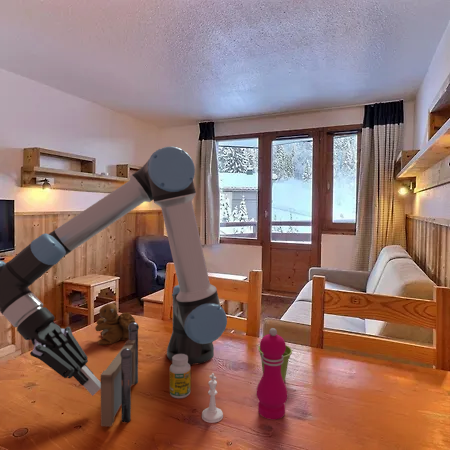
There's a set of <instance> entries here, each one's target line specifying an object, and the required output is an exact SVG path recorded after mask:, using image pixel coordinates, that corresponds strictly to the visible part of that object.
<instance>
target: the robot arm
mask: <svg viewBox="0 0 450 450" xmlns="http://www.w3.org/2000/svg"><path fill="white" fill-rule="evenodd" d="M195 168H196V166H195V163H194V160H193V159H192V157H191V156H190V154H189V153H188V152H187V151H185V150H184V149H182V148H180V147H177V146H165V147H161V148H158V149H157V150H155V151H154V152H153V153H152V154H151V155H150V157H149V159H148V160H147V161H146V163H144V164H143V166H142V167H140V168H139V169H138V170H137V171H135V172H134V173H132V174H131V175H130V178H129V180H128V181H127V182H125V183H124V184H122V185H121V186H119V187H117V188H116V189H115V190H113V191H112V192H110V193H109V194H108V193H107V195H106V196H104V197H103V198H101V199H99V200H98V201H96V202H95V203H93V204H91V206H89V207H87V208H86V209H84V210H83V211H81V212H80V213H78V214H77V215H76V216H74V217H72V218H71V219H69V220H68V221H66V222H64V223H63V224H61V225H60V226H58V227H57V228H55V229H54V230H53V231H51V232H49V233H43V234H40V235H39V236H38V237H36V238H34V239H33V240H32V241H31V242H30V243H28V245H26V247H24V248H23V249H22V250H21V251H19V253H17V254H16V255H15V256H14V257H12V258H11V259H10V260H9V261H8V262H5V261H2V260H0V313H1V315H2V316H3V317H5V319H6V320H7V321H8V322H9V324H11V325H12V326H13V327H14V328H16V331H17V332H18V334H19V335H20V336H21V337H22V338H23V339H24V340H25V341H29V340H30V341H31V343H32V345H33V349H32V350H30V353H29V355H30V356H31V357H34V358H36V359H38V360H40V361H41V362H43V363H44V364H46V365H47V366H48V367H49V368H50V369H51V370H53V371H54V372H55V373H57V374H58V375H60V376H61V377H62V378H63V379H66V378H68V379H72V378H74V379H75V380H76V381H77V382H78V384H80V386H83V387H84V388H85V389H86V390H87V392H88V393H89V394H90V395H91V396H94V395H95V394H97V392H98V391H101V380H99V379H98V377H97V376H95V374H94V372H93V371H92V369H90V368H89V367H88V366H87V364H88V362H89V360H88V359H89V357H88V355H87V354H86V353H85V351H84V349H83V348H82V346H81V345H80V344H79V342H78V340H77V339H76V337H75V336H74V335H73V333H72V329H71V327H70V326H66V327H65V328H61V327H60V325H58V324H57V323H55V322H54V320H55V318H56V317H55V315H54V314H53V313H52V312H51V311H50V310H49V309H48V308H47V307H44V303H43V302H42V301H41V300H40V299H39V298H38V297H37V296H36V294H34V293H33V292H32V290H30V288H29V287H30V286H32V284H34V283H35V282H36V281H37V280H38V279H39V278H41V277H42V276H43V275H44V274H45V273H47V272H48V271H49V270H51V268H53V266H56V265H57V264H58V263H59V262H60V261H61V260H62V259H63V258H64V257H66V256H67V255H68V254H69V253H71V252H73V251H74V250H76V249H77V248H78V247H80V246H81V245H83V244H84V243H86V242H87V241H89V240H90V239H92V238H93V237H95V236H96V235H98V234H99V233H100V232H102V231H103V230H105V229H106V228H107V227H109V226H111V225H112V224H114V223H115V222H117V221H119V220H120V219H121V218H123V217H124V216H125V215H128V213H130V212H131V211H133V210H134V209H136V208H138V207H139V206H140V205H142V204H144V203H145V202H147V203H150V202H154V204H156V205H157V206H159V207H160V209H161V213H162V216H163V221H164V226H165V230H166V235H167V239H168V243H169V248H170V252H171V257H172V261H173V266H174V270H175V275H176V278H177V282H178V283H177V285H175V286H173V290H172V294H171V296H172V333H171V336H170V339H169V342H168V344H167V348H166V356H167V359H168V360H169V361H171V362H172V357H173V356H174V355H176V354H185V355H187V356H188V363H189V364H190V366H191V365H198V364H203V363H206V362H208V361H209V360H211V359H212V358H213V357H214V355H215V352H214V349H215V348H214V344H213V342H215V341H216V340H218V339H220V337H221V336H222V335H223V333H224V332H225V331H226V328H227V325H228V316H227V314H226V312H225V309H224V308H223V307H222V306H221V304H220V299H219V294H218V290H217V287H216V286H215V285H213V284H211V283H210V279H209V274H208V269H207V265H206V260H205V256H204V251H203V247H202V241H201V237H200V232H199V228H198V224H197V223H198V222H197V218H196V214H195V209H194V204H193V200H194V199H195V197H196V195H197V192H196V187H195V183H194V179H195V175H196V174H195V172H196V169H195Z"/></svg>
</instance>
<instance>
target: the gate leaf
mask: <svg viewBox="0 0 450 450" xmlns="http://www.w3.org/2000/svg"><path fill="white" fill-rule="evenodd" d="M125 348H129V349H130V350H131V352H132V354H131V387H132V386H134V385H135V384H134V383H135V348H136V342H135V340H129V339H127V340H126V341H125V342H124V345H123V346H122V348H121V349H120V350H119V352H117V354H116V356H115V357H114V359H113V360H112V361H111V362H110V363H109V365H108V366H107V368H106V369H105V370H103V371H102V372H101V374H100V382H101V389H100V426H101V427H112V426H113V424H114V422H115V416H116V415H117V413H118V411H119V409H120V408H121V356H120V353H121V351H122V350H123V349H125Z"/></svg>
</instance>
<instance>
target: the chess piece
mask: <svg viewBox="0 0 450 450" xmlns="http://www.w3.org/2000/svg"><path fill="white" fill-rule="evenodd" d="M208 377H209V379H210V380H209V381H207V382H208V383H207V384H208V386H209V390H208V392H207V395H209V397H210V398H209V405H208V407H206V408H205V409H203V411H202V412H201V419H202V421H204V422H205V423H206V422H207V423H210V424H211V423H212V424H216V423H218V422H220V421H222V419H223V418H224V414H223V411H222V409H221V408H219V407H217V406H216V405H217V404H216V396H217V394H218V391H217V389H216V387H217V385H218V382H217V376H215V373H213V372H212V373H211V374H210V375H209V376H208Z"/></svg>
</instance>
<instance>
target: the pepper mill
mask: <svg viewBox="0 0 450 450" xmlns="http://www.w3.org/2000/svg"><path fill="white" fill-rule="evenodd" d="M268 332H269V334H265V335H264V336H262V338H261V340H260V343H259V346H260V349H261V351H262V353H263V354H262V361H261V363H262V362H263V363H264V372H263V371H262V376H261V378H260V380H259V382H258V385H257V387H256V398H257V400H258V405H257V406H258V407H257V410H258V413H259V415H260V416H261V417H263V418H265V419H267V420H273V421H274V420H280V419H282V418H283V417H284V416H285V415H286V404H285V403H286V401H287V400H288V390H287V389H288V388H287V386H286V384H285V381H283V378H282V375H281V364H283V358H284V357H283V354H284V352H285V350H286V342H285V341H286V340H285V339H284V338H283V337H282V336H281V335H279V334H278V331H277V329H276V328H274V327H271V328H270V329H269V331H268Z"/></svg>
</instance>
